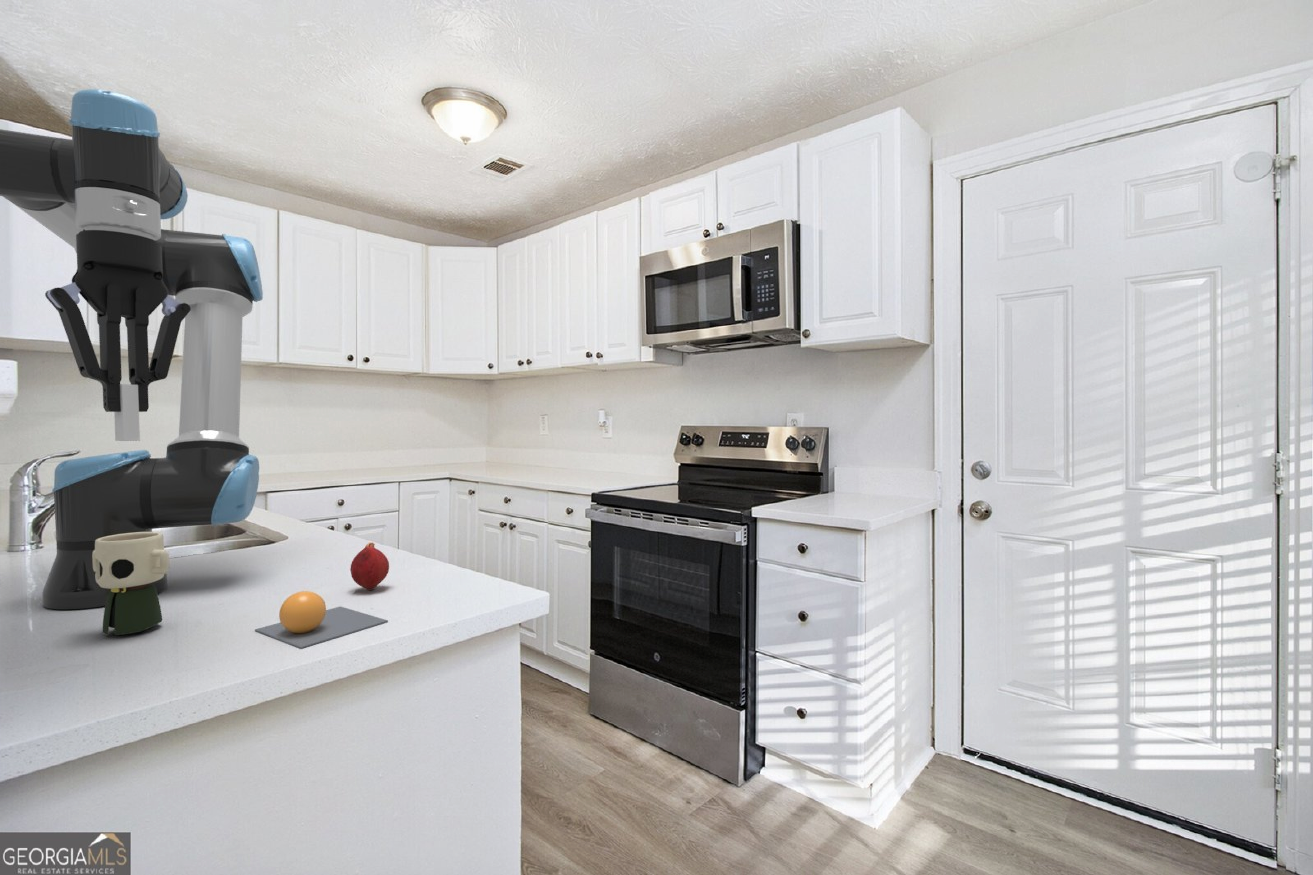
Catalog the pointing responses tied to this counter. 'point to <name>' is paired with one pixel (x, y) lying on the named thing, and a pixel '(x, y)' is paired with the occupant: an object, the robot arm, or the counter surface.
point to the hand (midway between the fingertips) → (127, 440)
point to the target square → (324, 627)
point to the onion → (369, 567)
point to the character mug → (130, 579)
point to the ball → (302, 612)
